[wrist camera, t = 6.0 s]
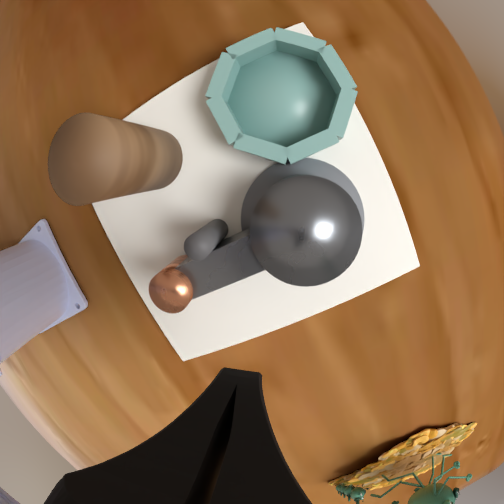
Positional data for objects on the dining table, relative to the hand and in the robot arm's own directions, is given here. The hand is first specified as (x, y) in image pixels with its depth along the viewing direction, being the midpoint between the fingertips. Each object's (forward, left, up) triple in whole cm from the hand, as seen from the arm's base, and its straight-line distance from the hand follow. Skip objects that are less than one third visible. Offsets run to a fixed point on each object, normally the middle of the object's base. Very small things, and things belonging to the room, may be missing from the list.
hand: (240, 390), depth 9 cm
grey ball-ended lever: (+1, +3, -8) cm, 9 cm away
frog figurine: (+5, -24, -9) cm, 26 cm away
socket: (+6, +10, -9) cm, 14 cm away
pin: (-2, +10, -8) cm, 13 cm away
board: (+1, +6, -9) cm, 11 cm away
